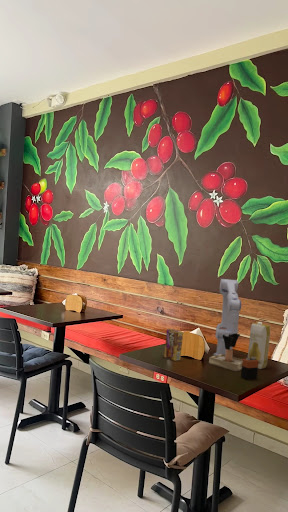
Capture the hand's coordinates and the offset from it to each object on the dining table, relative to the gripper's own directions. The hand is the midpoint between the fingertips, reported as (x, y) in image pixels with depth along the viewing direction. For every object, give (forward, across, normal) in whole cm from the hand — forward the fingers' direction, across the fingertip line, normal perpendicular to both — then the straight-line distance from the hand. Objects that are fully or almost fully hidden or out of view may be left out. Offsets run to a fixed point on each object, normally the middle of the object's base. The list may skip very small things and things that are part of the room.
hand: (230, 348), depth 221 cm
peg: (+9, 0, 0) cm, 9 cm away
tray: (+9, 0, 0) cm, 9 cm away
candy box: (+10, +13, -27) cm, 31 cm away
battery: (+10, +13, +16) cm, 22 cm away
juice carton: (+10, -12, +12) cm, 19 cm away
